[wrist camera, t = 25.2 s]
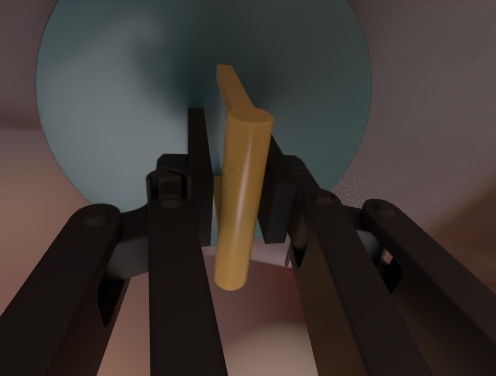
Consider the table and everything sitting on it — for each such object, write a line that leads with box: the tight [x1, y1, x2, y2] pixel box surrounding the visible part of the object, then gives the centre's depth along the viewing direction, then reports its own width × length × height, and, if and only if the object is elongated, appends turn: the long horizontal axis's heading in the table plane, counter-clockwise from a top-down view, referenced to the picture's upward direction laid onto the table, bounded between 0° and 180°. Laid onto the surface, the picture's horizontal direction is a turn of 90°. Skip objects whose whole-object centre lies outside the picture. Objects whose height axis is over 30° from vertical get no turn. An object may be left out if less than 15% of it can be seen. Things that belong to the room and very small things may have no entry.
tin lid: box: [35, 0, 372, 290], centre depth 13 cm, size 17×17×8 cm
